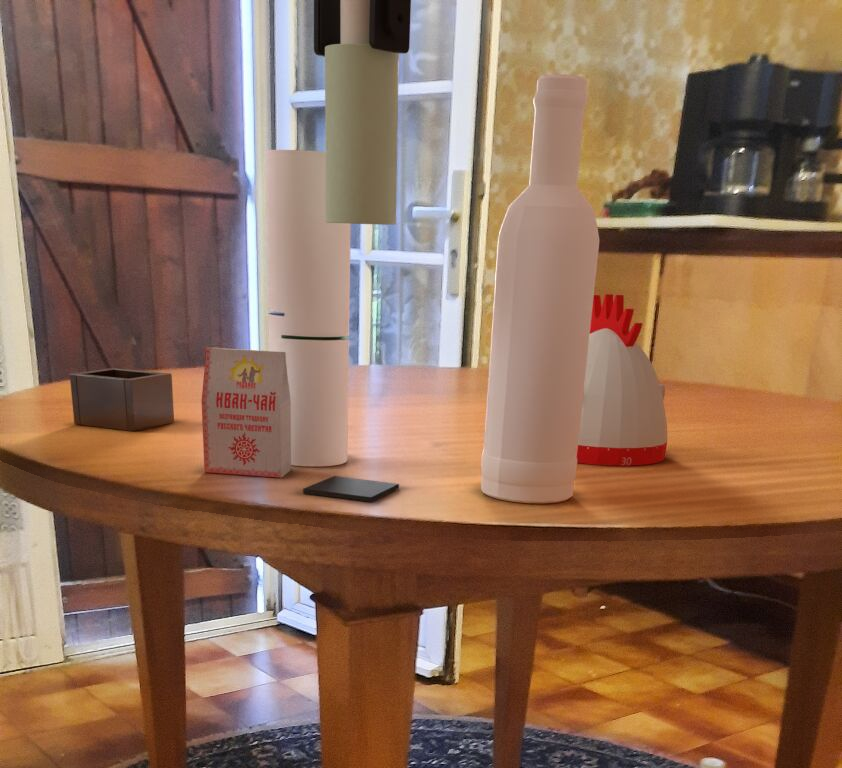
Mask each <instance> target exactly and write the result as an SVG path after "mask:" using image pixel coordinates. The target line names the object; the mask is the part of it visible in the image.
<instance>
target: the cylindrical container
mask: <svg viewBox="0 0 842 768" xmlns="http://www.w3.org/2000/svg"><path fill="white" fill-rule="evenodd" d="M265 192H266V193H265V194H266V197H265V199H266V202H265V203H266V249H267V250H266V253H267V254H266V255H267V256H266V257H267V258H266V259H267V260H266V262H267V263H266V264H267V311H269V312H268V351H276V352H285V354H286V366H287V376H288V383H289V391H290V399H291V466H296V467H312V468H313V467H331V466H332V467H333V466H338V465H343V464H345V463H347V462H348V455H349V454H348V451H349V450H348V448H349V446H348V445H349V386H350V385H349V382H350V377H349V376H350V375H349V374H350V337H349V336H350V313H351V312H350V311H351V310H350V307H351V306H350V305H351V302H350V301H351V300H350V299H351V240H352V239H351V232H352V231H351V229H352V227H351V226H352V224H350V223H329V222H326V151H323V150H322V151H320V150H307V149H306V150H304V149H268V150H265Z"/></svg>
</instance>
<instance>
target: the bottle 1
mask: <svg viewBox="0 0 842 768" xmlns="http://www.w3.org/2000/svg"><path fill="white" fill-rule="evenodd" d="M340 18H341V44H333V45H328V46H326V47H325V57H324V99H325V100H324V102H325V103H324V104H325V105H324V115H325V117H324V118H325V119H324V120H325V122H324V123H325V126H324V127H325V130H324V131H325V133H324V134H325V152H326V222H329V223H350V224H351V225H353V224H354V225H382V226H383V225H384V226H385V225H386V226H388V225H390V226H395V225H396V224H397V184H398V183H397V181H398V179H397V175H398V173H397V172H398V127H399V126H398V125H399V121H398V120H399V78H400V77H399V72H400V71H399V70H400V69H399V67H400V54H398V53H393V52H388V51H383V50H378V49H373V48H372V47H371V46H370V44H369V19H370V0H340Z"/></svg>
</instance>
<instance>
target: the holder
mask: <svg viewBox="0 0 842 768" xmlns="http://www.w3.org/2000/svg"><path fill="white" fill-rule="evenodd" d="M69 381H70V394H71V402H72V404H71V405H72V413H73V414H72V415H73V424H74V425H76V426H86V427H94V428H102V429H109V430H110V429H111V430H119V431H120V430H121V431H128V432H139V431H144V430H147V429H151V428H155V427H160V426H164V425H169V424H173V423H175V413H174V410H175V409H174V392H173V376H172V373H170V372H159V371H148V370H139V369H130V368H129V369H127V368H117V367H110V368H103V369H102V368H101V369H96V370H89V371H88V370H87V371H80V372H74V373H69Z"/></svg>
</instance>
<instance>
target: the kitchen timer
mask: <svg viewBox="0 0 842 768" xmlns="http://www.w3.org/2000/svg"><path fill="white" fill-rule="evenodd" d="M624 305H625V296H624V295H623V294H615V296H614V294H612V293H605V294H604V297H603V300H602V299H601V294H594V297H593V307H592V316H591V326H590V335H589V345H588V354H587V364H586V373H585V383H584V392H583V402H582V411H581V420H580V430H579V439H578V449H577V464H586V465H596V466H615V467H617V466H618V467H619V466H620V467H621V466H624V467H625V466H627V467H629V466H643V465H654V464H658V463H661V462H663V461H664V460H665V459H666V453H667V445H668V423H667V415H666V407H665V402H664V401H665V397H666V387H665V385H664V384H661V383H660V381H659V378H658V375H657V373H656V370H655V369H654V368H655V367H654V366H653V364H652V362H651V360H650V358H649V357H648V356H647V353H646V352H645V351H644V349H643V348H642V347H641V346H640V345H639V344H638V343H637V340H638V338H639V335H640V333H641V330H642V327H643V322H634V323H633V325H632V326H631V322H632V320H633V315H634V313H635V312H634V311H635V309H634V308H625V309H624V307H625V306H624ZM630 327H631V328H630Z"/></svg>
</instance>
